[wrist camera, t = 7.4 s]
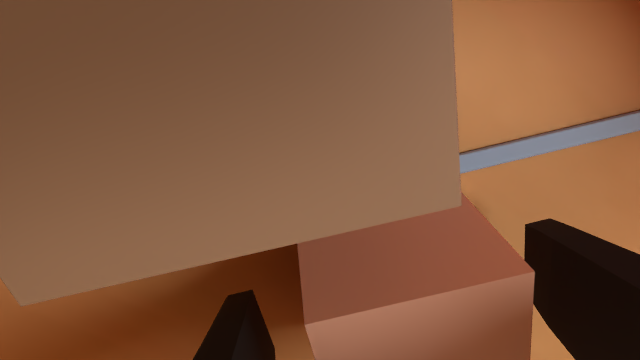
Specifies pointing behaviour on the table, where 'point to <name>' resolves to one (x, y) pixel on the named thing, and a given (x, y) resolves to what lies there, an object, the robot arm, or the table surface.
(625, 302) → the robot arm
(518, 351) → the terracotta block
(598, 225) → the table surface
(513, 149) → the frame
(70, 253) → the walnut cube
